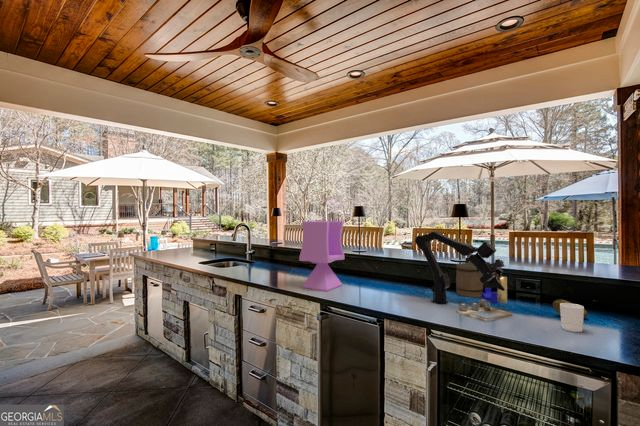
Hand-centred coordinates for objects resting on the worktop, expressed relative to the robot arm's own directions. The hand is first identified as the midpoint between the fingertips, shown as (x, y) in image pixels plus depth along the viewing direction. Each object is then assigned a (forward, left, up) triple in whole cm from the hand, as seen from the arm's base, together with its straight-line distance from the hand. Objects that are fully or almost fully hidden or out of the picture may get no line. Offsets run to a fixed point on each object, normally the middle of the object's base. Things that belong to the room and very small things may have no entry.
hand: (505, 289), depth 150 cm
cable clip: (-20, +18, -13) cm, 30 cm away
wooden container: (-35, +21, -12) cm, 42 cm away
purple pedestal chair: (-96, -48, -12) cm, 109 cm away
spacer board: (-6, -7, -12) cm, 16 cm away
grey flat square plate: (-2, -12, -12) cm, 18 cm away
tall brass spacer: (-1, 0, -6) cm, 6 cm away
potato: (+17, +23, -12) cm, 31 cm away
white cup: (+25, +6, -12) cm, 28 cm away
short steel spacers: (-10, -7, -11) cm, 16 cm away
